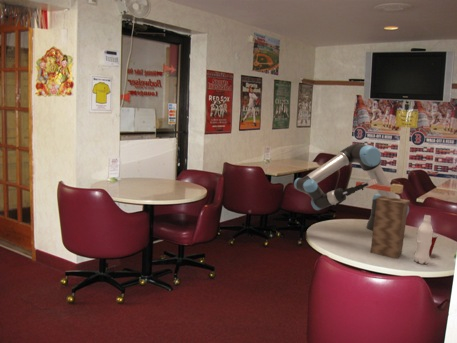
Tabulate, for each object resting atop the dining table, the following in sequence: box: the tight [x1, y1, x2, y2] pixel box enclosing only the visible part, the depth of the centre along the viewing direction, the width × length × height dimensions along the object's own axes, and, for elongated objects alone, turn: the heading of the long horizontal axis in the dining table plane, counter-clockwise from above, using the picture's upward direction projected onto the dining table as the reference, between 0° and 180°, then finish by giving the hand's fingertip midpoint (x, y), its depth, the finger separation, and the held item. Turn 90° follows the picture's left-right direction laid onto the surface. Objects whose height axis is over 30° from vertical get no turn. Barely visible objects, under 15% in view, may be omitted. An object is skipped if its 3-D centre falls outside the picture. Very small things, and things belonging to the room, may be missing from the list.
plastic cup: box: [416, 231, 439, 257], centre depth 250 cm, size 11×11×12 cm
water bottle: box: [414, 214, 434, 265], centre depth 235 cm, size 7×7×25 cm
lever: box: [355, 180, 404, 195], centre depth 247 cm, size 24×5×4 cm, turn 56°
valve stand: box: [370, 196, 411, 259], centre depth 246 cm, size 15×11×30 cm
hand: (374, 181), depth 248 cm, fingers closed on lever, 3 cm apart
